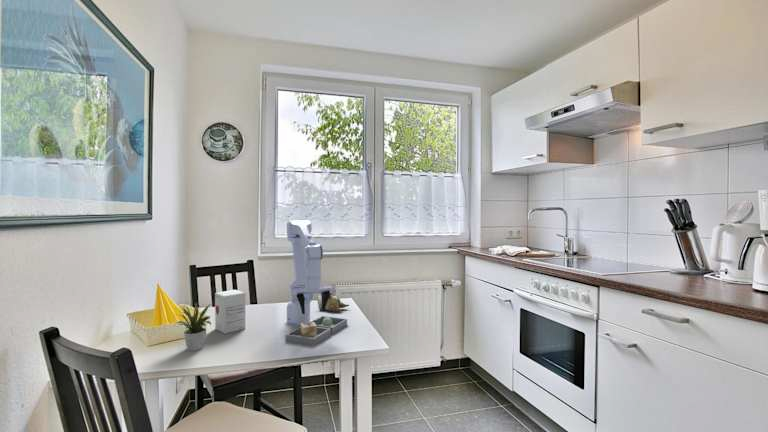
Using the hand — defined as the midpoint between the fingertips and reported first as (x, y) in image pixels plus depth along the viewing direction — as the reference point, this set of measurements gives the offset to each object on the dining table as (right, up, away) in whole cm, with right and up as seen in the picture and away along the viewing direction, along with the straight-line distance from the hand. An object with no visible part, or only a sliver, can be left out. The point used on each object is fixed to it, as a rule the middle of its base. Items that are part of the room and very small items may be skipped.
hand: (313, 312), depth 141 cm
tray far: (+4, -9, +10) cm, 14 cm away
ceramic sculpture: (+2, -9, +37) cm, 38 cm away
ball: (+4, -9, +10) cm, 14 cm away
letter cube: (-1, -9, -3) cm, 9 cm away
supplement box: (-36, -10, +10) cm, 38 cm away
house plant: (-40, -10, -12) cm, 43 cm away
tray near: (-1, -10, -3) cm, 10 cm away
